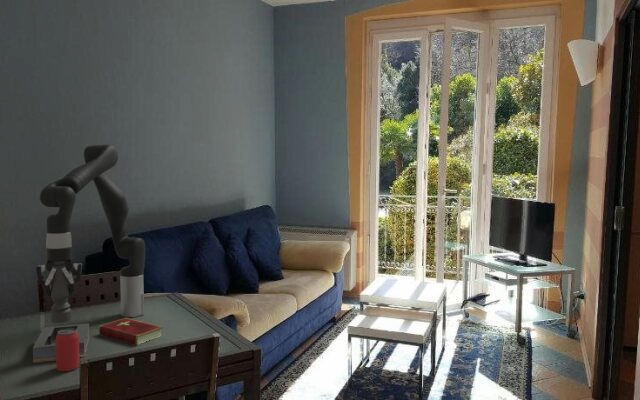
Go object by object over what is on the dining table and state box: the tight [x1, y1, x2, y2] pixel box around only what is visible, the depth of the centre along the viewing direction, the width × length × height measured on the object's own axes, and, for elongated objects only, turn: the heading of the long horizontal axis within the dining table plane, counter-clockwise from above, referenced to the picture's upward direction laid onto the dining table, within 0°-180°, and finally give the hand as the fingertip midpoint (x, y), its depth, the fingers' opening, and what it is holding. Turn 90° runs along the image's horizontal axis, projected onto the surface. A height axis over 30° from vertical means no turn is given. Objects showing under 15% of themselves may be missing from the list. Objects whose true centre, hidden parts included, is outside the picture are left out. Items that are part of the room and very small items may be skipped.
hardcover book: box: [98, 317, 163, 346], centre depth 187 cm, size 12×21×4 cm, turn 60°
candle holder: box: [49, 261, 72, 324], centre depth 167 cm, size 6×6×25 cm
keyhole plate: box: [32, 322, 90, 363], centre depth 173 cm, size 15×21×5 cm
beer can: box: [55, 328, 80, 372], centre depth 156 cm, size 7×7×12 cm
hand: (60, 294), depth 167 cm, fingers closed on candle holder, 6 cm apart
